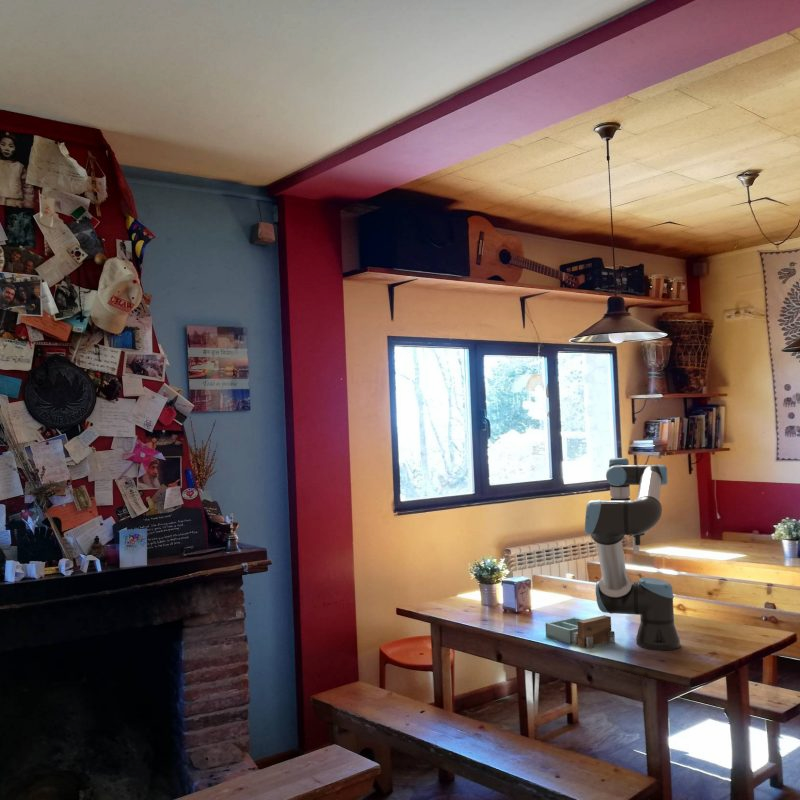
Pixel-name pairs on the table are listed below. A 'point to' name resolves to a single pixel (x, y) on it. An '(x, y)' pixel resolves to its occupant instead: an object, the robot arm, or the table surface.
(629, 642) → the table surface
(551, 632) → the box
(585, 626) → the door
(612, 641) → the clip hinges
